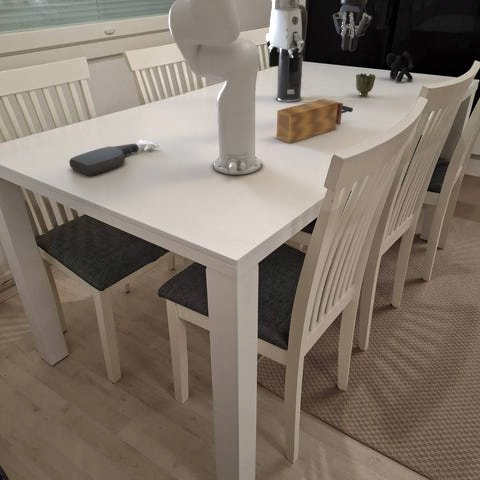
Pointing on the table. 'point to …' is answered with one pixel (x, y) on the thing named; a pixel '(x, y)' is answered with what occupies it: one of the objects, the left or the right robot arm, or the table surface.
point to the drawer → (339, 111)
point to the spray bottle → (106, 157)
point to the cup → (364, 83)
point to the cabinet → (306, 120)
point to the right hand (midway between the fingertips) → (348, 50)
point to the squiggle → (399, 66)
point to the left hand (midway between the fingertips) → (283, 69)
